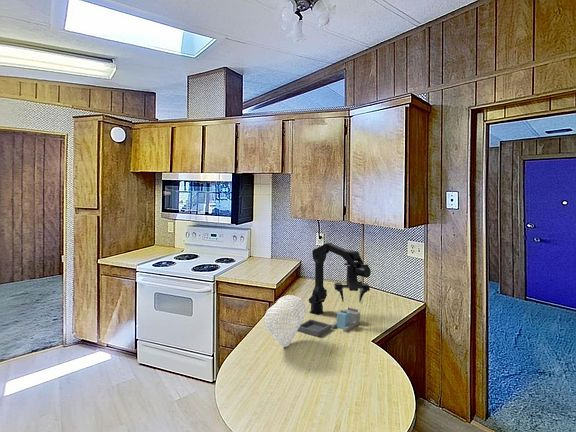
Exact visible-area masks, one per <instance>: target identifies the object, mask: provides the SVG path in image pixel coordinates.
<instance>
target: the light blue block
mask: <svg viewBox="0 0 576 432" xmlns="http://www.w3.org/2000/svg"><path fill="white" fill-rule="evenodd" d="M344 310H345V309H340V311H338V312H336V322H337V327H336V329H341V330H343V328H344V327H346V326H348V325H349V324H350V312H348V311H344Z"/></svg>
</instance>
